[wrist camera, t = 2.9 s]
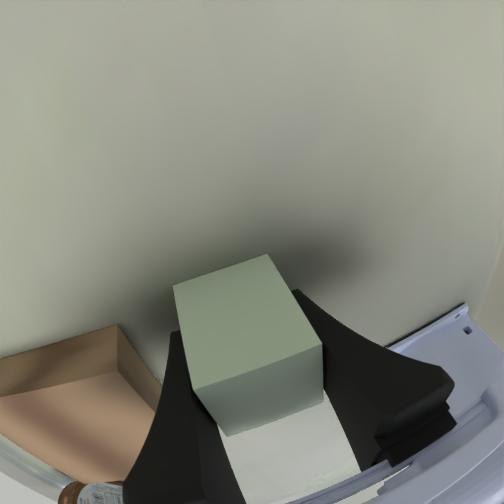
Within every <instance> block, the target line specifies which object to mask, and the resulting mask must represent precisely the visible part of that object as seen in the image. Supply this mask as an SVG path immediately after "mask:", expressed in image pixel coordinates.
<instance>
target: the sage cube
mask: <svg viewBox="0 0 504 504" xmlns="http://www.w3.org/2000/svg"><path fill="white" fill-rule="evenodd" d="M173 290H174V296H175V302H176V308H177V313H178V319H179V324H180V330H181V335H182V340H183V345H184V350H185V355H186V360H187V364H188V369H189V374H190V378H191V383H192V387H193V390H194V392H195V393H196V395H197V396H198V398H199V399H200V400H201V402H202V403H203V405H204V406H205V408H206V409H207V410H208V412H209V413H210V415H211V416H212V417H213V419H214V420H215V421H216V423H217V424H218V425H219V427H220V428H221V430H222V431H223V432H224V434H225V435H226V436H227V437H228V436H231V435H234V434H238V433H241V432H244V431H247V430H250V429H253V428H256V427H259V426H262V425H265V424H267V423H270V422H273V421H276V420H278V419H281V418H284V417H286V416H289V415H292V414H294V413H297V412H299V411H302V410H304V409H307V408H309V407H311V406H314V405H316V404H319V403H321V402H323V356H322V342H321V341H320V339H319V338H318V336H317V334H316V333H315V331H314V329H313V328H312V326H311V324H310V323H309V321H308V319H307V318H306V316H305V314H304V313H303V311H302V309H301V308H300V306H299V304H298V303H297V301H296V300H295V298H294V296H293V295H292V293H291V291H290V290H289V288H288V286H287V285H286V283H285V281H284V280H283V278H282V277H281V275H280V273H279V272H278V270H277V268H276V267H275V265H274V263H273V262H272V260H271V259H270V257H269V255H268V254H265V255H262V256H259V257H256V258H253V259H250V260H247V261H244V262H241V263H238V264H235V265H232V266H229V267H226V268H223V269H220V270H217V271H214V272H211V273H208V274H206V275H203V276H200V277H197V278H194V279H191V280H188V281H185V282H182V283H179V284H176V285H173Z"/></svg>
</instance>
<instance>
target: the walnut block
mask: <svg viewBox="0 0 504 504" xmlns="http://www.w3.org/2000/svg"><path fill="white" fill-rule="evenodd" d="M161 390H162V385H161V384H160V383H159V381H158V380H157V379H156V378H155V376H154V375H153V374H152V372H151V371H150V370H149V368H148V367H147V366H146V364H145V363H144V361H143V360H142V359H141V357H140V356H139V355H138V353H137V352H136V350H135V349H134V348H133V346H132V345H131V343H130V342H129V340H128V339H127V337H126V336H125V335H124V333H123V332H122V330H121V329H120V327H119V326H118V324H115V325H112V326H109V327H106V328H102V329H99V330H96V331H93V332H89V333H86V334H83V335H80V336H76V337H73V338H70V339H66V340H63V341H60V342H57V343H53V344H50V345H46V346H43V347H40V348H36V349H33V350H29V351H26V352H23V353H19V354H16V355H12V356H9V357H5V358H2V359H0V434H2V435H3V436H5V437H6V438H7V439H9V440H10V441H12V442H13V443H15V444H16V445H18V446H19V447H21V448H22V449H24V450H25V451H27V452H28V453H30V454H31V455H33V456H35V457H36V458H38V459H40V460H41V461H43V462H45V463H46V464H48V465H50V466H52V467H53V468H55V469H57V470H59V471H61V472H62V473H64V474H66V475H68V476H70V477H72V478H74V479H76V480H78V481H80V482H82V483H84V484H91V483H102V482H111V481H119V480H125V479H126V477H127V475H128V474H129V472H130V470H131V469H132V467H133V465H134V463H135V461H136V459H137V457H138V455H139V453H140V451H141V449H142V447H143V444H144V442H145V440H146V437H147V435H148V432H149V430H150V427H151V424H152V422H153V419H154V416H155V413H156V409H157V406H158V402H159V399H160V395H161Z"/></svg>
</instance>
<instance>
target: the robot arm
mask: <svg viewBox="0 0 504 504" xmlns="http://www.w3.org/2000/svg"><path fill="white" fill-rule="evenodd" d="M291 293H292V295H293V296H294V298H295V300H296V301H297V303H298V304H299V306H300V308H301V309H302V311H303V313H304V314H305V316H306V318H307V319H308V321H309V323H310V324H311V326H312V328H313V329H314V331H315V333H316V334H317V336H318V338H319V339H320V341H321V342H322V356H323V388H324V390H325V392H326V394H327V396H328V398H329V400H330V402H331V404H332V406H333V408H334V410H335V412H336V415H337V417H338V419H339V421H340V423H341V425H342V427H343V430H344V432H345V434H346V437H347V439H348V441H349V443H350V446H351V448H352V450H353V453H354V455H355V458H356V460H357V462H358V465H359V467H360V470H361V473H359V474H357V475H355V476H353V477H351V478H348V479H346V480H344V481H342V482H340V483H338V484H335V485H333V486H331V487H328V488H326V489H323V490H321V491H318V492H316V493H313V494H311V495H309V496H306V497H303V498H300V499H298V500H295V501H292V502H289V503H286V504H333V503H336V502H338V501H340V500H343V499H345V498H347V497H349V496H352V495H354V494H356V493H358V492H360V491H362V490H364V489H366V488H368V487H370V486H372V485H374V484H376V483H378V482H380V481H382V480H384V479H385V478H387V477H389V476H391V475H393V474H394V473H396V472H398V471H400V470H401V469H403V468H405V467H407V466H408V465H409V467H408V468H406V469H404V470H403V471H401V472H400V473H398V474H397V475H395V476H394V477H392V478H390V479H389V480H387V481H385V483H384V485H383V486H382V487H381V488H380V489H378V490H377V493H378V495H379V496H377V497H375V498H373V499H371V500H369V501H367V502H365V503H362V504H504V353H503V352H502V351H501V350H500V349H499V348H498V346H497V345H496V344H495V343H494V342H493V341H492V340H491V339H490V338H489V336H487V334H486V333H485V332H484V331H483V330H482V329H481V328H480V327H479V326H478V325H477V323H476V322H475V321H474V320H473V319H472V318H471V317H470V316H469V315H468V314H467V312H468V310H469V306H468V305H467V304H463V305H462V306H460V307H459V308H457V309H455V310H454V311H452V312H451V313H449V314H447V315H446V316H444V317H442V318H441V319H439V320H437V321H436V322H434V323H432V324H431V325H429V326H427V327H425V328H424V329H422V330H420V331H418V332H417V333H415V334H413V335H411V336H409V337H408V338H406V339H404V340H402V341H400V342H398V343H396V344H394V345H393V346H391V347H389V348H384V347H382V346H380V345H378V344H376V343H374V342H372V341H370V340H368V339H366V338H364V337H363V336H361V335H359V334H357V333H356V332H354V331H353V330H351V329H349V328H348V327H346V326H345V325H343V324H342V323H340V322H339V321H337V320H336V319H335V318H333V317H332V316H331V315H329V314H328V313H326V312H325V311H324V310H323V309H321V308H320V307H319V306H318V305H316V304H315V303H314V302H313V301H311V300H310V299H309V298H308V297H307V296H306V295H305V294H303V293H302V292H301V291H300V290H298V289H296V290H293V291H291ZM122 499H123V504H246V502H245V499H244V497H243V495H242V492H241V490H240V488H239V485H238V483H237V480H236V478H235V475H234V473H233V470H232V468H231V465H230V462H229V459H228V457H227V454H226V451H225V448H224V445H223V442H222V439H221V436H220V433H219V430H218V426H217V423H216V421H215V420H214V419H213V417H212V416H211V415H210V413H209V412H208V410H207V409H206V408H205V406H204V405H203V403H202V402H201V400H200V399H199V398H198V396H197V395H196V393H195V392H194V390H193V387H192V383H191V378H190V374H189V369H188V364H187V360H186V355H185V350H184V345H183V340H182V335H181V330H178V331H174V332H172V333H171V335H170V344H169V353H168V360H167V366H166V371H165V377H164V382H163V386H162V390H161V395H160V399H159V402H158V406H157V409H156V413H155V416H154V419H153V422H152V424H151V427H150V430H149V432H148V435H147V437H146V440H145V442H144V444H143V447H142V449H141V451H140V453H139V455H138V457H137V459H136V461H135V463H134V465H133V467H132V469H131V470H130V472H129V474H128V475H127V477H126V479H125V481H124V482H123V484H122Z"/></svg>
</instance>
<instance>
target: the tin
mask: <svg viewBox="0 0 504 504" xmlns="http://www.w3.org/2000/svg"><path fill="white" fill-rule="evenodd" d="M122 484H123V482H118V481H111V482H102V483H91V484H84V483H82V482H80V481H76V482H73V483H70V484H69V485H67V486H66V487H65V488H64V489H63V490H62V492H61V494H60V496H59V499H58V504H123V499H122Z"/></svg>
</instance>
